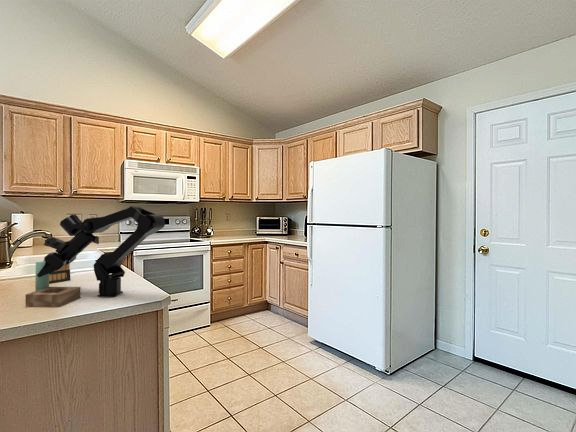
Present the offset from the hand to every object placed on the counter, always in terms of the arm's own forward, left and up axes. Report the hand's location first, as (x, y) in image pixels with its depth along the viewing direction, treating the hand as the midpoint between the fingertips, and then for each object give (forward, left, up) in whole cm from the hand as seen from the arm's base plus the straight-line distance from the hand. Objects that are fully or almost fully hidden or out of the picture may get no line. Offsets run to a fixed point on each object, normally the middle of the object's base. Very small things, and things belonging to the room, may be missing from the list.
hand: (42, 273), depth 117 cm
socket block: (-10, +8, -8) cm, 15 cm away
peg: (0, 0, -8) cm, 8 cm away
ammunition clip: (+10, -22, -8) cm, 25 cm away
